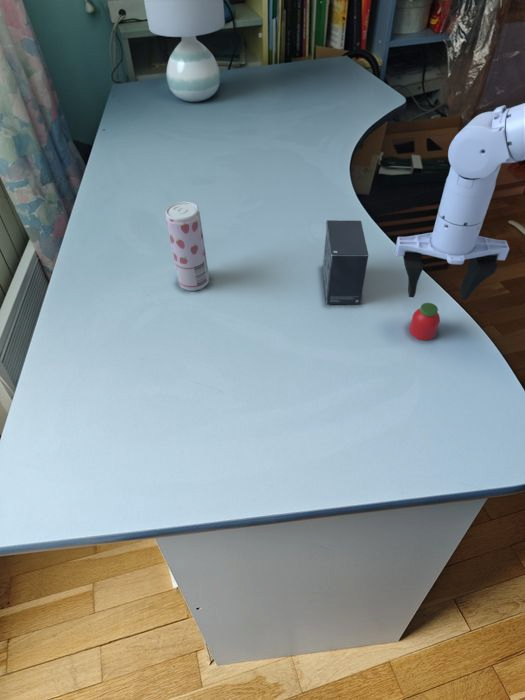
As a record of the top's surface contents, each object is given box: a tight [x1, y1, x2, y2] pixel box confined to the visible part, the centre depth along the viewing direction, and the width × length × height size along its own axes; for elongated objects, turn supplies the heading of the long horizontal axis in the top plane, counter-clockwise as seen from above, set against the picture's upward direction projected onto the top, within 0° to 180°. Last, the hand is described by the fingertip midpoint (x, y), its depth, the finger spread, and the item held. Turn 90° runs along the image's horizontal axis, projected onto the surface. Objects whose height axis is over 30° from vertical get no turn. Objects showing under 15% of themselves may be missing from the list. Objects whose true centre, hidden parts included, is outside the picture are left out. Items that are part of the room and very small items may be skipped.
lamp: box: [143, 0, 226, 103], centre depth 138 cm, size 22×22×40 cm
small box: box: [321, 219, 370, 305], centre depth 84 cm, size 11×6×10 cm, turn 179°
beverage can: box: [165, 201, 210, 292], centre depth 84 cm, size 6×6×15 cm
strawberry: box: [408, 302, 441, 341], centre depth 77 cm, size 4×4×5 cm
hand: (436, 294), depth 73 cm, fingers open, 7 cm apart
